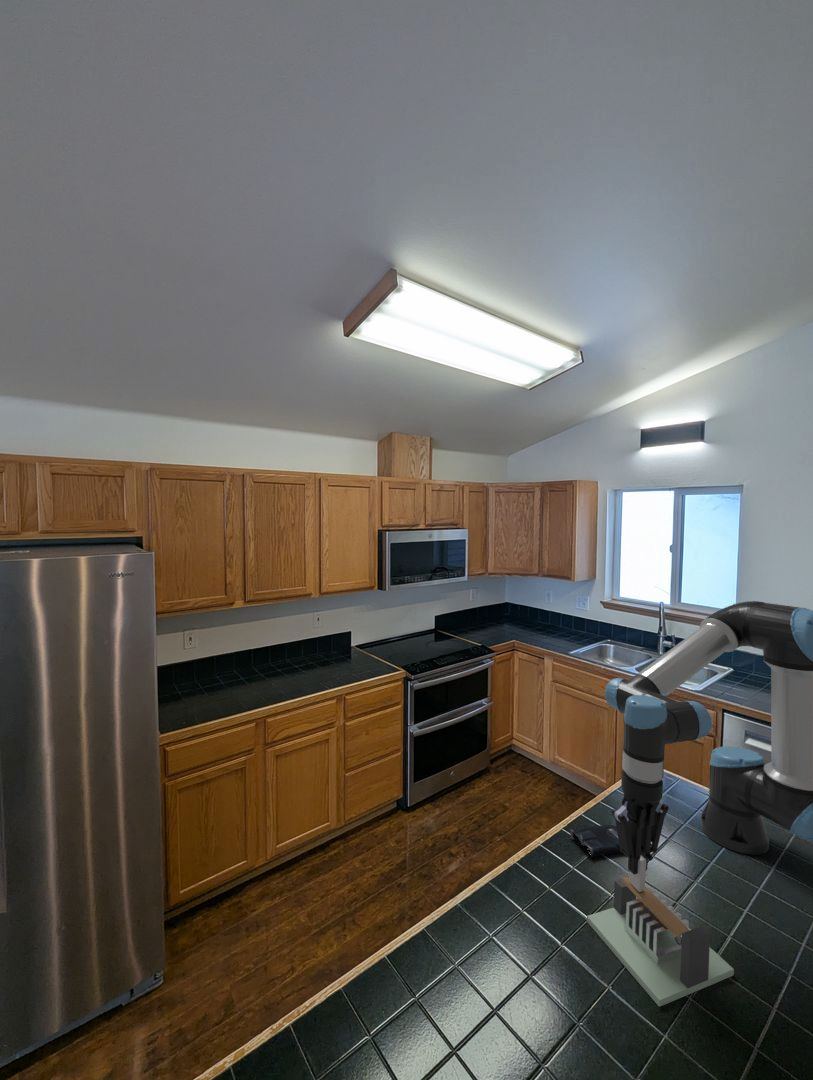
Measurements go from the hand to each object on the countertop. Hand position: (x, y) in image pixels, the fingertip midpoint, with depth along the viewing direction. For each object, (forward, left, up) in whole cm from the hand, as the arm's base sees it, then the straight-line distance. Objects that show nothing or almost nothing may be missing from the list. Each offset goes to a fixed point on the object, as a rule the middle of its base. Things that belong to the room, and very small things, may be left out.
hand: (636, 886), depth 95 cm
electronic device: (-12, -22, -9) cm, 27 cm away
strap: (0, +4, -1) cm, 5 cm away
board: (0, +5, -9) cm, 10 cm away
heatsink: (0, +5, -8) cm, 9 cm away
